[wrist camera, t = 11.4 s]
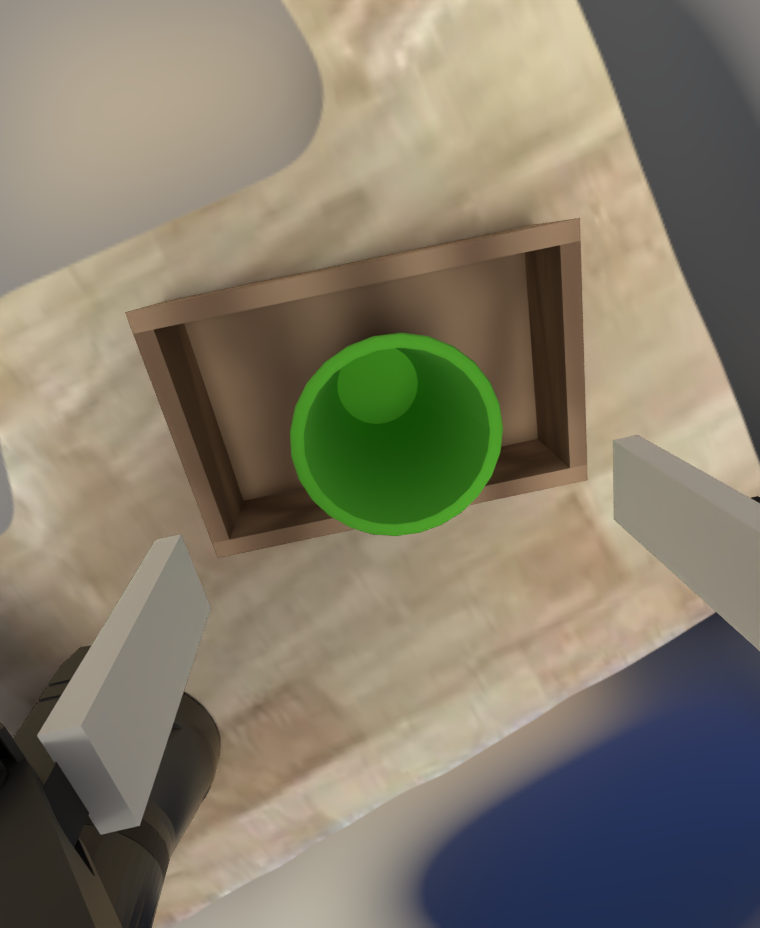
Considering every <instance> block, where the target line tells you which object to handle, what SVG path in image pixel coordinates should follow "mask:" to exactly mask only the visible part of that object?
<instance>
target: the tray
mask: <svg viewBox="0 0 760 928" xmlns="http://www.w3.org/2000/svg"><path fill="white" fill-rule="evenodd" d="M125 313H126V316H127V319H128V321H129V324H130V327H131V329H132V332H133V335H134V337H135V340H136V343H137V345H138V348H139V351H140V353H141V356H142V359H143V361H144V364H145V366H146V369H147V372H148V374H149V377H150V380H151V382H152V385H153V388H154V390H155V393H156V396H157V398H158V401H159V404H160V406H161V409H162V412H163V414H164V417H165V419H166V422H167V425H168V427H169V430H170V433H171V435H172V438H173V441H174V443H175V446H176V449H177V451H178V454H179V457H180V459H181V462H182V465H183V467H184V470H185V473H186V475H187V478H188V480H189V483H190V486H191V488H192V491H193V494H194V496H195V499H196V502H197V504H198V507H199V510H200V512H201V515H202V518H203V520H204V523H205V526H206V528H207V531H208V534H209V536H210V539H211V541H212V544H213V547H214V549H215V552H216V555H217V557H218V558H220V557H225V556H229V555H234V554H239V553H244V552H248V551H253V550H258V549H263V548H267V547H272V546H277V545H282V544H286V543H291V542H296V541H301V540H305V539H310V538H315V537H320V536H324V535H329V534H334V533H339V532H343V531H348V530H353V528H350V527H348V526H347V525H345V524H343V523H341V522H340V521H338V520H336V519H334V518H332V517H331V516H329V515H328V514H327V513H326V512H325V511H324V510H322V509H321V508H320V507H319V506H318V505H317V504H316V503H315V502H314V501H313V500H312V499H311V498H310V496H309V494H308V493H307V491H306V490H305V488H304V487H303V485H302V484H301V482H300V480H299V478H298V475H297V472H296V469H295V466H294V463H293V460H292V457H291V442H290V429H291V424H292V419H293V414H294V409H295V406H296V404H297V402H298V400H299V398H300V396H301V394H302V392H303V390H304V388H305V385H306V383H307V382H308V381H309V380H310V379H311V377H312V376H313V375H314V374H315V373H316V372H317V370H318V369H319V368H320V367H321V366H322V365H323V363H324V362H326V361H327V360H329V359H330V358H331V357H333V356H334V355H336V354H337V353H338V352H340V351H341V350H343V349H344V348H346V347H347V346H349V345H352V344H354V343H357V342H360V341H362V340H365V339H367V338H370V337H373V336H379V335H387V334H395V333H408V334H415V335H423V336H430V337H432V338H434V339H437V340H439V341H442V342H444V343H447V344H449V345H452V346H454V347H455V348H457V349H458V350H459V351H461V352H462V353H463V354H465V355H466V356H467V357H469V358H470V359H472V360H473V361H474V362H475V363H476V364H477V366H478V367H479V368H480V369H481V371H482V372H483V373H484V374H485V376H486V377H487V378H488V380H489V381H490V382H491V385H492V387H493V390H494V392H495V394H496V397H497V399H498V401H499V404H500V410H501V417H502V424H503V434H502V443H501V452H500V455H499V458H498V460H497V463H496V466H495V468H494V471H493V474H492V476H491V478H490V479H489V481H488V482H487V484H486V485H485V487H484V488H483V490H482V491H481V493H480V494H479V496H478V497H477V498H476V499H475V500H474V501H473V502H472V503H471V504H470V505H472V504H476V503H481V502H486V501H491V500H495V499H500V498H505V497H510V496H514V495H519V494H524V493H529V492H533V491H538V490H543V489H548V488H552V487H557V486H562V485H567V484H571V483H576V482H581V481H586V480H588V477H587V444H586V410H585V377H584V343H583V310H582V276H581V243H580V218H578V219H571V220H564V221H557V222H550V223H543V224H536V225H530V226H526V227H521V228H516V229H511V230H506V231H501V232H497V233H492V234H487V235H482V236H477V237H473V238H468V239H463V240H458V241H453V242H449V243H444V244H439V245H434V246H429V247H424V248H420V249H415V250H410V251H405V252H400V253H396V254H391V255H386V256H381V257H376V258H371V259H367V260H362V261H357V262H352V263H347V264H343V265H338V266H333V267H328V268H323V269H318V270H314V271H309V272H304V273H299V274H294V275H290V276H285V277H280V278H275V279H270V280H265V281H261V282H256V283H251V284H246V285H241V286H237V287H232V288H227V289H222V290H217V291H213V292H208V293H203V294H198V295H193V296H188V297H184V298H179V299H174V300H169V301H164V302H161V303H157V304H154V305H150V306H147V307H143V308H140V309H136V310H133V311H129V312H125Z"/></svg>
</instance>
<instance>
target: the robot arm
mask: <svg viewBox="0 0 760 928" xmlns="http://www.w3.org/2000/svg"><path fill="white" fill-rule="evenodd" d="M613 492H614V520H615V521H616V522H617V523H618V524H619V525H620V526H622V527H623V528H624V529H625V530H626V531H627V532H628V533H629V534H630V535H632V536H633V537H634V538H635V539H636V540H637V541H638V542H639V543H640V544H642V545H643V546H644V547H645V548H646V549H647V550H648V551H649V552H650V553H652V554H653V555H654V556H655V557H656V558H657V559H658V560H659V561H660V562H662V563H663V564H664V565H665V566H666V567H667V568H668V569H669V570H670V571H672V572H673V573H674V574H675V575H676V576H677V577H678V578H679V579H680V580H682V581H683V582H684V583H685V584H686V585H687V586H688V587H689V588H690V589H692V590H693V591H694V592H695V593H696V594H697V595H698V596H699V597H700V598H702V599H703V600H704V601H705V602H706V603H707V604H708V605H709V606H710V607H712V608H713V609H714V610H715V611H716V612H717V613H718V614H719V615H720V616H722V617H723V618H724V619H725V620H726V621H727V622H728V623H729V624H730V625H732V626H733V627H734V628H735V629H736V630H737V631H738V632H739V633H741V634H742V635H743V636H744V637H745V638H746V639H747V640H748V641H749V642H750V643H752V644H753V645H754V646H755V647H756V648H757V649H758V650H759V651H760V497H758V496H757V497H752V498H749V497H748V496H746V495H744V494H742V493H740V492H739V491H737V490H735V489H733V488H731V487H730V486H728V485H726V484H724V483H723V482H721V481H719V480H717V479H715V478H714V477H712V476H710V475H708V474H707V473H705V472H703V471H701V470H699V469H698V468H696V467H694V466H692V465H690V464H689V463H687V462H685V461H683V460H682V459H680V458H678V457H676V456H674V455H673V454H671V453H669V452H667V451H666V450H664V449H662V448H660V447H658V446H657V445H655V444H653V443H651V442H649V441H648V440H646V439H644V438H642V437H641V436H639V435H635V436H630V437H626V438H621V439H616V440H613ZM210 610H211V608H210V605H209V603H208V600H207V598H206V595H205V593H204V590H203V588H202V585H201V583H200V580H199V578H198V575H197V573H196V570H195V568H194V565H193V563H192V560H191V558H190V555H189V552H188V550H187V547H186V545H185V542H184V540H183V537H182V535H181V534H180V535H175V536H171V537H166V538H161V539H157V540H155V542H154V543H153V545H152V546H151V548H150V550H149V551H148V553H147V555H146V556H145V558H144V560H143V561H142V563H141V565H140V566H139V568H138V570H137V571H136V573H135V575H134V576H133V578H132V580H131V581H130V583H129V584H128V586H127V588H126V589H125V591H124V593H123V594H122V596H121V598H120V599H119V601H118V603H117V604H116V606H115V608H114V609H113V611H112V613H111V614H110V616H109V617H108V619H107V621H106V622H105V624H104V626H103V627H102V629H101V631H100V632H99V634H98V636H97V637H96V639H95V641H94V642H93V644H92V645H90V646H85V647H81V648H79V649H78V650H77V651H76V652H75V653H74V654H73V655H72V656H71V657H70V658H69V659H67V660H66V661H65V662H64V663H63V664H62V665H61V666H60V668H59V669H58V671H57V673H56V674H55V676H54V677H53V679H52V680H51V682H50V683H49V687H48V688H46V689H45V691H44V693H43V694H42V696H41V697H40V699H39V703H36V705H35V706H34V708H33V709H32V711H31V712H30V714H29V716H28V717H27V719H26V720H25V722H24V723H23V725H22V726H21V728H20V729H19V731H18V732H17V734H16V736H15V737H14V739H13V738H12V737H11V735H10V734H9V732H8V731H7V729H6V728H5V726H4V725H2V724H1V723H0V928H152V925H153V921H154V917H155V913H156V909H157V905H158V902H159V898H160V894H161V890H162V886H163V882H164V879H165V875H166V871H167V868H168V864H169V861H170V857H171V855H172V853H173V851H174V850H175V848H176V846H177V845H178V843H179V841H180V839H181V838H182V836H183V834H184V833H185V831H186V829H187V828H188V826H189V824H190V822H191V820H192V819H193V817H194V815H195V813H196V811H197V810H198V808H199V806H200V804H201V802H202V801H203V800H204V798H205V797H206V795H207V794H208V792H209V790H210V788H211V785H212V783H213V780H214V776H215V772H216V768H217V763H218V759H219V754H220V739H219V734H218V731H217V729H216V726H215V724H214V722H213V721H212V719H211V718H210V716H209V715H208V714H207V712H206V711H205V710H204V709H203V708H202V707H201V706H200V705H199V704H198V703H196V702H195V701H194V700H192V699H191V698H190V697H188V696H187V695H185V694H183V692H184V689H185V686H186V683H187V680H188V677H189V674H190V671H191V668H192V665H193V662H194V658H195V655H196V652H197V649H198V646H199V643H200V640H201V637H202V634H203V631H204V628H205V625H206V622H207V619H208V616H209V613H210Z"/></svg>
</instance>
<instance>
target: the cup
mask: <svg viewBox="0 0 760 928" xmlns="http://www.w3.org/2000/svg"><path fill="white" fill-rule="evenodd" d="M502 434H503V424H502V417H501V410H500V404H499V401H498V399H497V397H496V394H495V392H494V390H493V387H492V385H491V382H490V381H489V380H488V378H487V377H486V376H485V374H484V373H483V372H482V371H481V369H480V368H479V367H478V366H477V364H476V363H475V362H474V361H473V360H472V359H470V358H469V357H467V356H466V355H465V354H463V353H462V352H461V351H459V350H458V349H457V348H455V347H454V346H452V345H449V344H447V343H444V342H442V341H439V340H437V339H434V338H432V337H430V336H423V335H415V334H408V333H395V334H387V335H379V336H373V337H370V338H367V339H365V340H362V341H360V342H357V343H354V344H352V345H349V346H347V347H346V348H344V349H343V350H341V351H340V352H338V353H337V354H336V355H334V356H333V357H331V358H330V359H329V360H327V361H326V362H324V363H323V365H322V366H321V367H320V368H319V369H318V370H317V372H316V373H315V374H314V375H313V376H312V377H311V379H310V380H309V381H308V382H307V383H306V385H305V388H304V390H303V392H302V394H301V396H300V398H299V400H298V402H297V404H296V406H295V409H294V414H293V419H292V424H291V429H290V442H291V457H292V460H293V463H294V466H295V469H296V472H297V475H298V478H299V480H300V482H301V484H302V485H303V487H304V488H305V490H306V491H307V493H308V494H309V496H310V498H311V499H312V500H313V501H314V502H315V503H316V504H317V505H318V506H319V507H320V508H321V509H322V510H324V511H325V512H326V513H327V514H328V515H329V516H331V517H332V518H334V519H336V520H338V521H340V522H341V523H343V524H345V525H347V526H348V527H350V528H353V529H357V530H360V531H363V532H367V533H370V534H376V535H390V536H399V535H407V534H414V533H420V532H423V531H425V530H428V529H431V528H434V527H437V526H439V525H442V524H443V523H445V522H447V521H448V520H450V519H451V518H453V517H455V516H456V515H458V514H460V513H461V512H462V511H463V510H464V509H465V508H466V507H467V506H469V505H470V504H471V503H472V502H473V501H474V500H475V499H476V498H477V497H478V496H479V494H480V493H481V491H482V490H483V488H484V487H485V485H486V484H487V482H488V481H489V479H490V478H491V476H492V474H493V471H494V468H495V466H496V463H497V460H498V458H499V455H500V452H501V443H502Z"/></svg>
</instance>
